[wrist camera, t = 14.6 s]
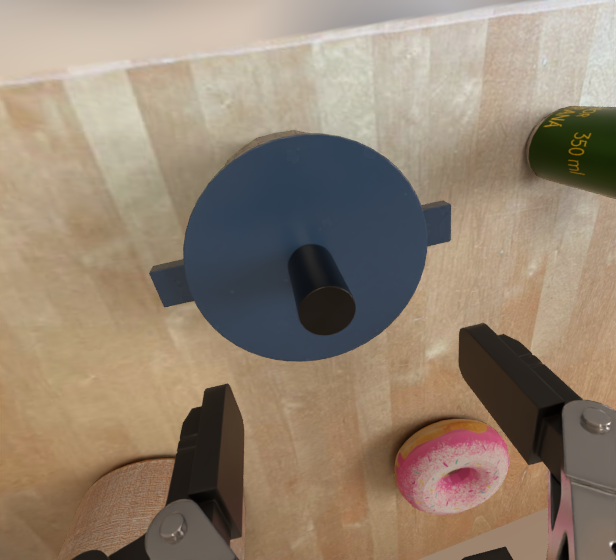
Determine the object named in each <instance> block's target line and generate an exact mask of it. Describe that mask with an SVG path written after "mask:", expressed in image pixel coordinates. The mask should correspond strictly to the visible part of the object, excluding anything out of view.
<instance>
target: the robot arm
mask: <svg viewBox="0 0 616 560" xmlns="http://www.w3.org/2000/svg"><path fill="white" fill-rule="evenodd" d="M459 368H460V371H461V374H462V376H463V378H464V380H465V381H466V382H467V384H468V385H469V386H470V388H471V389H472V390H473V392H474V393H475V394H476V396H477V397H478V398H479V400H480V401H481V402H482V404H483V405H484V406H485V408H486V409H487V410H488V412H489V413H490V414H491V416H492V417H493V418H494V420H495V421H496V422H497V424H498V425H499V426H500V428H501V429H502V430H503V432H504V433H505V434H506V436H507V437H508V438H509V440H510V441H511V442H512V444H513V445H514V446H515V448H516V449H517V450H518V452H519V453H520V454H521V456H522V457H523V458H524V460H525V461H526V462H527V464H528V465H530V464H534V463H538V462H542V461H543V462H544V464H545V465H546V466H547V467H548V469H549V472H548V550H547V558H546V560H616V411H615V410H614V409H612V408H610V407H608V406H606V405H604V404H601V403H598V402H595V401H590V400H583V399H582V398H580V397H579V396H578V395H577V394H576V393H575V392H574V391H573V390H572V389H571V388H570V387H568V386H567V385H566V384H565V383H564V382H563V381H562V380H561V379H560V378H559V377H558V376H556V375H555V374H554V373H553V372H552V371H551V370H550V369H549V368H548V367H547V366H545V365H544V364H542V362H541V361H540V360H539V359H538V358H537V357H536V356H535V355H532V353H531V352H530V351H529V350H528V349H527V348H526V347H525V346H524V345H523V344H521V343H520V342H519V341H517V340H515V339H513V338H511V337H509V336H506V335H504V334H503V335H497V334H496V333H495V332H494V331H493V330H491V329H490V328H489V327H488V326H487V325H486V324H484V323H481V324H477V325H473V326H469V327H465V328H461V329H460V332H459ZM177 452H178V453H177V454H176V458H175V463H174V468H173V472H172V477H171V482H170V487H169V491H168V496H167V501H166V504H165V507H164V508H163V509H161V510H160V511H159V512H158V513H157V515H156V516H155V517H154V518H153V520H152V521H151V523H150V525H149V527H148V529H147V532H146V533H145V534H143V535H142V536H141V537H139V538H138V539H136V540H135V541H133V542H131V543H130V544H128V545H126V546H124V547H123V548H121V549H119V550H118V551H116V552H114V553H113V554H111V555H109V556H107V555H106V554H105V553H104V552H102V551H100V550H89V551H86V552H83V553H81V554H79V555H77V556H76V557H74V558H73V559H72V560H239V559H238V557H237V556H236V555H235V553H234V552H233V551H232V549H231V548H230V540H233V539H237V538H241V537H242V514H243V469H244V425H243V419H242V416H241V413H240V410H239V408H238V405H237V403H236V400H235V397H234V395H233V392H232V390H231V387H230V385H229V384H224V385H220V386H216V387H211V388H207V389H205V391H204V397H203V403H202V406H201V407H197V408H193V409H191V411H190V413H189V414H188V416H187V417H186V419H185V421H184V422H183V425H182V430H181V435H180V441H179V444H178V449H177ZM462 560H513V559H512V557H511V555H510V554H509V552H508V550H507V548H506V547H502V548H498V549H495V550H491V551H487V552H483V553H479V554H476V555H472V556H468V557H465V558H463V559H462Z"/></svg>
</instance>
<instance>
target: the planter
mask: <svg viewBox="0 0 616 560" xmlns="http://www.w3.org/2000/svg"><path fill="white" fill-rule="evenodd" d="M174 463H175V458H159V459H149V460H143V461H139V462H135V463H132V464H129V465H126V466H123V467H120V468H118V469H115V470H113V471H111V472H110V473H108V474H106V475H105V476H103V477H102V478H100V479H99V480H97V481H96V482H95V483H94V484H93V485H92V486H91V487H90V488H89V489H88V491H87V492H86V494H85V495H84V497H83V499H82V500H81V502H80V504H79V506H78V509H77V511H76V513H75V516H74V518H73V520H72V523H71V525H70V528H69V530H68V533H67V535H66V538H65V540H64V543H63V545H62V548H61V550H60V553H59V555H58V558H57V560H72V559H73V558H74V557H76V556H77V555H79V554H81V553H83V552H86V551H89V550H100V551H102V552H104V553H105V554H106V555H107V556H109V555H111V554H113V553H114V552H116V551H118V550H119V549H121V548H123V547H124V546H126V545H128V544H130V543H131V542H133V541H135V540H136V539H138V538H139V537H141V536H142V535H143V534H145V533H146V532H147V529H148V527H149V525H150V523H151V521H152V520H153V518H154V517H155V516H156V515H157V513H158V512H159V511H160V510H161V509H163V508H164V507H165V504H166V501H167V496H168V491H169V487H170V482H171V477H172V472H173V468H174ZM230 548H231V549H232V551H233V552H234V553H235V555H236V556H237V557H238V559H239V560H244V557H245V501H244V496H243V514H242V537H241V538H237V539H233V540H230Z"/></svg>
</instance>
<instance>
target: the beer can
mask: <svg viewBox="0 0 616 560" xmlns="http://www.w3.org/2000/svg"><path fill="white" fill-rule="evenodd" d="M526 159H527V162H528V165H529V166H530V168H531V169H532V170H533V172H534V173H535V174H536V175H537V176H539V177H541V178H543V179H546V180H549V181H553V182H556V183H560V184H564V185H567V186H571V187H574V188H578V189H582V190H585V191H589V192H593V193H596V194H600V195H603V196H607V197H611V198H614V199H616V107H586V106H569V107H565V108H562V109H559V110H557V111H555V112H553V113H552V114H550V115H548V116H547V117H545V118H544V119H543V120H542V121H541V122H540V123H539V124H538V125H537V126H536V127H535V128H534V130H533V132H532V133H531V135H530V137H529V140H528V143H527V146H526Z"/></svg>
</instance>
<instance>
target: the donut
mask: <svg viewBox="0 0 616 560" xmlns="http://www.w3.org/2000/svg"><path fill="white" fill-rule="evenodd" d="M509 462H510V460H509V455H508V449H507V445H506V443H505V442H504V440H503V439H502V437H501V436H500V435H499V433H498V432H497V431H496V430H494V429H493V428H492V427H490V426H489V425H487V424H485V423H483V422H480V421H477V420H471V419H449V420H443V421H439V422H436V423H433V424H431V425H428V426H426V427H424V428H422V429H421V430H419V431H418V432H416V433H415V434H414V435H412V436H411V437H410V438H409V439H408V440H407V441H406V442H405V443H404V444H403V446H402V447H401V448H400V449H399V452H398V454H397V456H396V460H395V469H394V473H395V480H396V483H397V485H398V488H399V490H400V492H401V494H402V496H403V497H404V498H405V499H406V500H407V501H408V502H409V503H410V504H411V505H412V506H413V507H415V508H417V509H419V510H421V511H424V512H427V513H431V514H437V515H448V514H455V513H460V512H463V511H466V510H469V509H471V508H473V507H476V506H478V505H479V504H481V503H483V502H484V501H486V500H487V499H488V498H490V497H491V496H492V495H493V494H494V493H495V492H496V491H497V490H498V489H499V487H500V486H501V484H502V483H503V481H504V479H505V476H506V474H507V471H508V469H509Z"/></svg>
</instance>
